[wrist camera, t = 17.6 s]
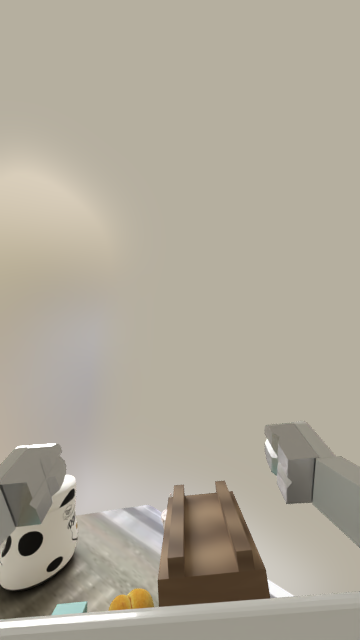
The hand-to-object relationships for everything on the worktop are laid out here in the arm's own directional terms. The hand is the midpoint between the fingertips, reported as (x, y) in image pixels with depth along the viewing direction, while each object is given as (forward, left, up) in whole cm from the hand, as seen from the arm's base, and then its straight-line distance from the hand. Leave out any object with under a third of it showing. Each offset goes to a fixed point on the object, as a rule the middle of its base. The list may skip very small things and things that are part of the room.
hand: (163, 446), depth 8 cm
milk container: (+13, +71, -41) cm, 83 cm away
